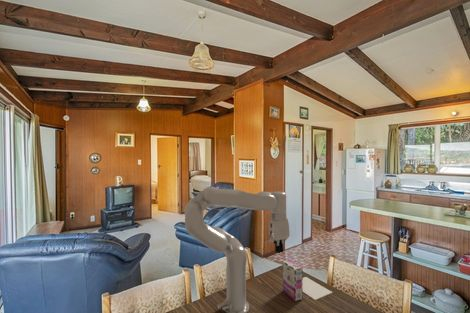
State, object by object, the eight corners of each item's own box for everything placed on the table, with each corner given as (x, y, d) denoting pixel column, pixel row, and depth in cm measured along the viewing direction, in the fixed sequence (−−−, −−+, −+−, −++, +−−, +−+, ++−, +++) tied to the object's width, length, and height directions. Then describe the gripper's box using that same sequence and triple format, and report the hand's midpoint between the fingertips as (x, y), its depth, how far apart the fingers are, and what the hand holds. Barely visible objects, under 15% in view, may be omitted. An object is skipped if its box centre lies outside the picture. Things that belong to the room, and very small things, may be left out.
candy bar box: (303, 299, 128) (303, 268, 128) (295, 302, 126) (295, 270, 126) (290, 288, 139) (290, 259, 138) (282, 290, 137) (282, 261, 136)
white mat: (315, 300, 127) (315, 299, 127) (289, 283, 144) (289, 282, 144) (332, 292, 134) (332, 292, 134) (306, 277, 150) (306, 276, 150)
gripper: (271, 220, 120) (271, 258, 120) (295, 215, 127) (295, 251, 128) (262, 216, 126) (262, 252, 127) (285, 212, 134) (285, 246, 134)
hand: (279, 251), depth 127 cm, fingers closed
